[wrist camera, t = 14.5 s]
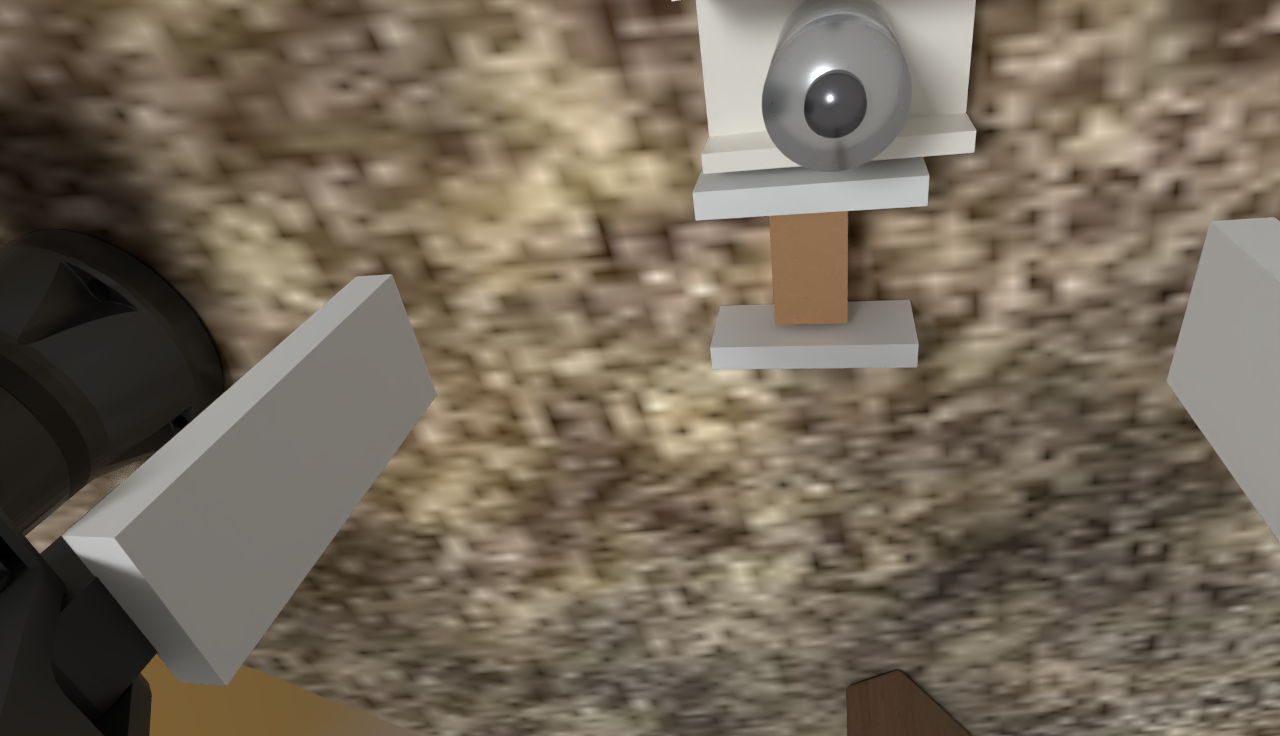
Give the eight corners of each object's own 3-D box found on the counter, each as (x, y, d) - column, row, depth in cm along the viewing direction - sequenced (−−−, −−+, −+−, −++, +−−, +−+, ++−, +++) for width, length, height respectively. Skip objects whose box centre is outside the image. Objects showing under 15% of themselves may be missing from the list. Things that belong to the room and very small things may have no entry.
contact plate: (778, 299, 36) (775, 324, 33) (772, 192, 33) (768, 213, 31) (846, 296, 35) (847, 323, 33) (846, 187, 32) (847, 208, 30)
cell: (775, 115, 30) (761, 183, 23) (774, -5, 27) (757, 33, 21) (889, 108, 29) (908, 177, 22) (898, -17, 26) (921, 18, 20)
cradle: (722, 326, 37) (712, 369, 34) (705, 161, 33) (692, 192, 30) (908, 321, 35) (917, 367, 32) (918, 143, 30) (929, 175, 27)
